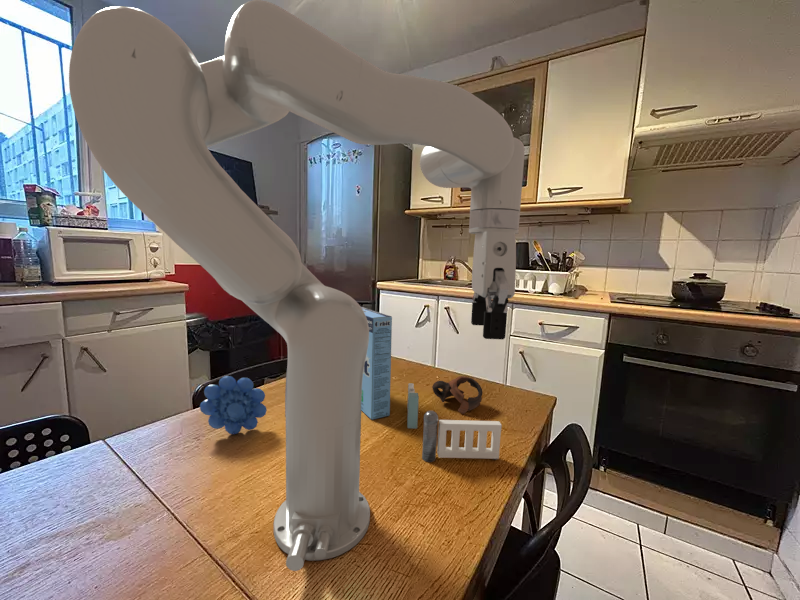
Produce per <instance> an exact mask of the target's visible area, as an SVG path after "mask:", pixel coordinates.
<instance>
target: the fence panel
mask: <svg viewBox="0 0 800 600" xmlns="http://www.w3.org/2000/svg"><path fill="white" fill-rule="evenodd" d="M407 385H408V387H407V396H408V395H409V393H416V391H415V388H414V387H415V386H414V385H415V384H414V383H410V382H409V383H408V384H407ZM406 409H407V410H408V403H407V408H406Z"/></svg>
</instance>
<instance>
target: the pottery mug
mask: <svg viewBox="0 0 800 600" xmlns="http://www.w3.org/2000/svg"><path fill="white" fill-rule="evenodd" d="M466 382H467V383H469V384H470V386H471V387H473V388H475V389H476V390H477V392H478V394H477V396H473V397H471V396H468V397H467V398H468V399H467V400H466V399H464V397H465V394H464V393H465V391H464V390H461V389H460V388H459V386H460V385H461V384H466ZM431 388H432V391H433V393H434V395H435V396H436V397H438V398H439V399H440V401H441V402H442V403H444V402H445V401H446V399H447V398H449V397H454V398H455V399H456V400H457V401H458V402H459V403H460V406H459V408H458V409H457V411H458V413H460V414H463V415H465V413H467V412H468V411H471V410H474V409H476V408H477V407H479V406H480V405H481V402H482V400H483V397H482V396H483V392H484V391H483V389H482V386H481V385H480V384H479V382H478V381H476V380H475V379H474V378H471V377H468V376H466V375H465V376H464V375H461V376H457V377H455V378H454V379H452V380H451V381H448V382H447V381H444V380H436V381H435V382H434V383H433V384H432V386H431ZM440 389H441V390H440Z"/></svg>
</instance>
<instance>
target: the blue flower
mask: <svg viewBox="0 0 800 600" xmlns="http://www.w3.org/2000/svg"><path fill="white" fill-rule="evenodd" d="M203 393H204V396H205V398H207V399H204V400H203V401H202V402H200V405H199V410H200V412H201V413H202V414H203V415H206V416H209V417H208V420H207V422H208V425H209V426H210V427H211V428H213V429H214V430H218V429H222V428H224V429H225V432H227V434H230V435H236V434H239V433H240V432H241V431H242V428H244V429H245V430H247V431H251V430H254V429H255V428H257V425H258V418H262V417H264V416H265V415H266V414H267V410H268V409H267V406H266V405H265V404H264V403H262V402H263V401H265V398H266V393H265V391H264V390H262V389H261V388H258V387H256V388H255V387H254V382H253V381H252V380H251V379H250V377H249V378H248V377H241V378H239V379H238V380H236V378H234V377H233V376H231V375H230V376H229V375H224V376H222V377H221V378H219V381H218V384H209V385H207V386H205V388H204V391H203Z"/></svg>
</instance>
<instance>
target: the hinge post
mask: <svg viewBox="0 0 800 600" xmlns="http://www.w3.org/2000/svg"><path fill="white" fill-rule="evenodd" d="M438 424H439V415H438V413H437V412H435V410H427V411H426V412H425V413H424V414H423V431H422V433H423V434H422V436H423V437H422V450H421V451H422V454H421V456H422V457H421V459H422V461H424V462H427V463H433V462H435V461H436V456H437V455H436V454H437V441H438Z"/></svg>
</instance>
